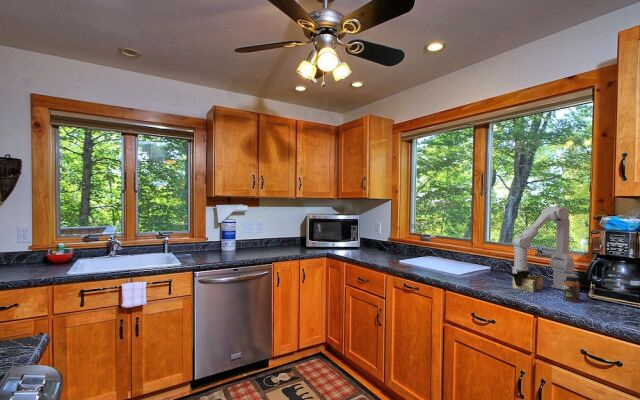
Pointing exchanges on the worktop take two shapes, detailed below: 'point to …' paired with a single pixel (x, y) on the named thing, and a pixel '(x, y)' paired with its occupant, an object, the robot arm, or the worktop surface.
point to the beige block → (526, 285)
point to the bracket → (539, 281)
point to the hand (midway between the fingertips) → (520, 285)
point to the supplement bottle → (571, 289)
